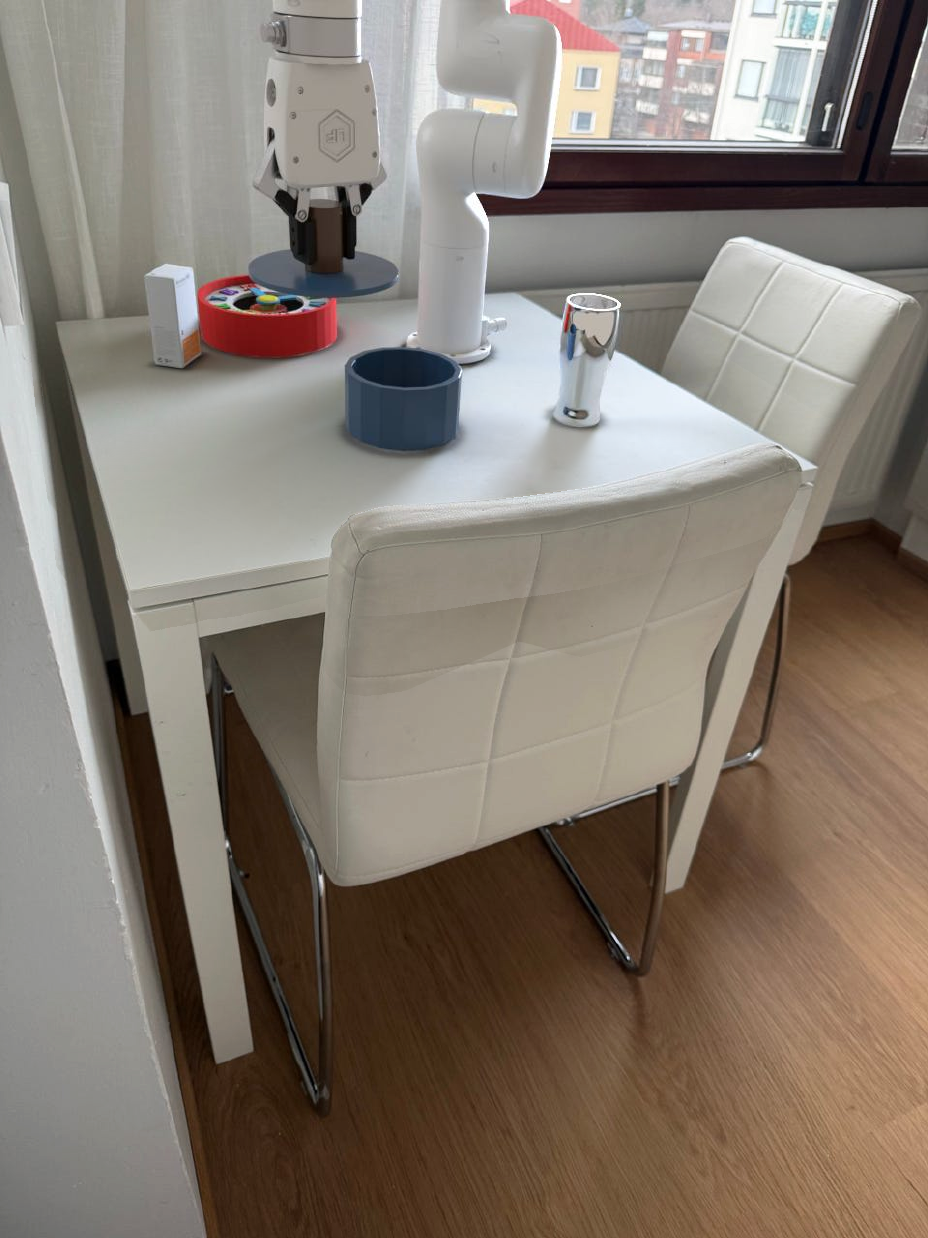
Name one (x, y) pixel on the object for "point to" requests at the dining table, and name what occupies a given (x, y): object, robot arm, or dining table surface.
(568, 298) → the beer glass
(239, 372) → the dining table surface
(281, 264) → the tin lid
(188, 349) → the cosmetic box
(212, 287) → the toy clock
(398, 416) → the tin
